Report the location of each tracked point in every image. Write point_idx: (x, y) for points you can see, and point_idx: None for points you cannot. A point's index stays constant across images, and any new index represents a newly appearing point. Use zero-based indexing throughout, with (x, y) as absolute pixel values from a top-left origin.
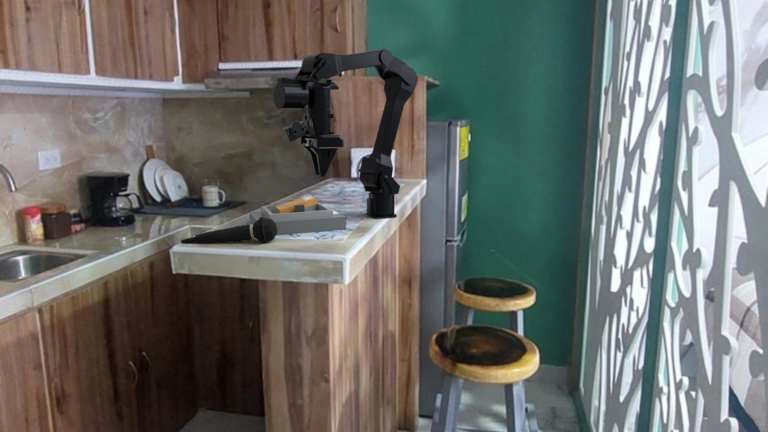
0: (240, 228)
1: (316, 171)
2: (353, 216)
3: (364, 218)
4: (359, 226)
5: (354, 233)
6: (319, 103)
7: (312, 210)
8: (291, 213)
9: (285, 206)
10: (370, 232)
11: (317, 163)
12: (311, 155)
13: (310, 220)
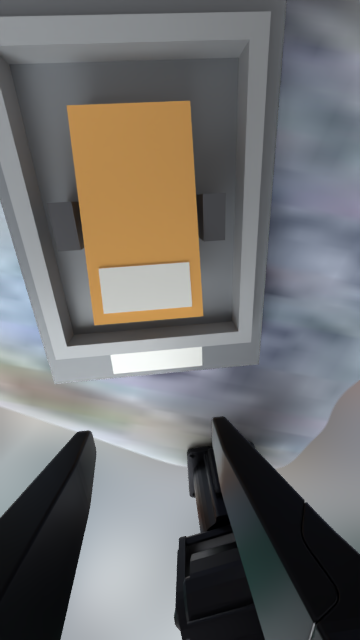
0: None
1: (215, 440)
2: (245, 410)
3: (206, 428)
4: (102, 399)
5: (7, 370)
6: None
7: (212, 299)
8: (2, 168)
9: (110, 151)
10: (16, 408)
11: (243, 516)
12: (301, 598)
13: (19, 256)
